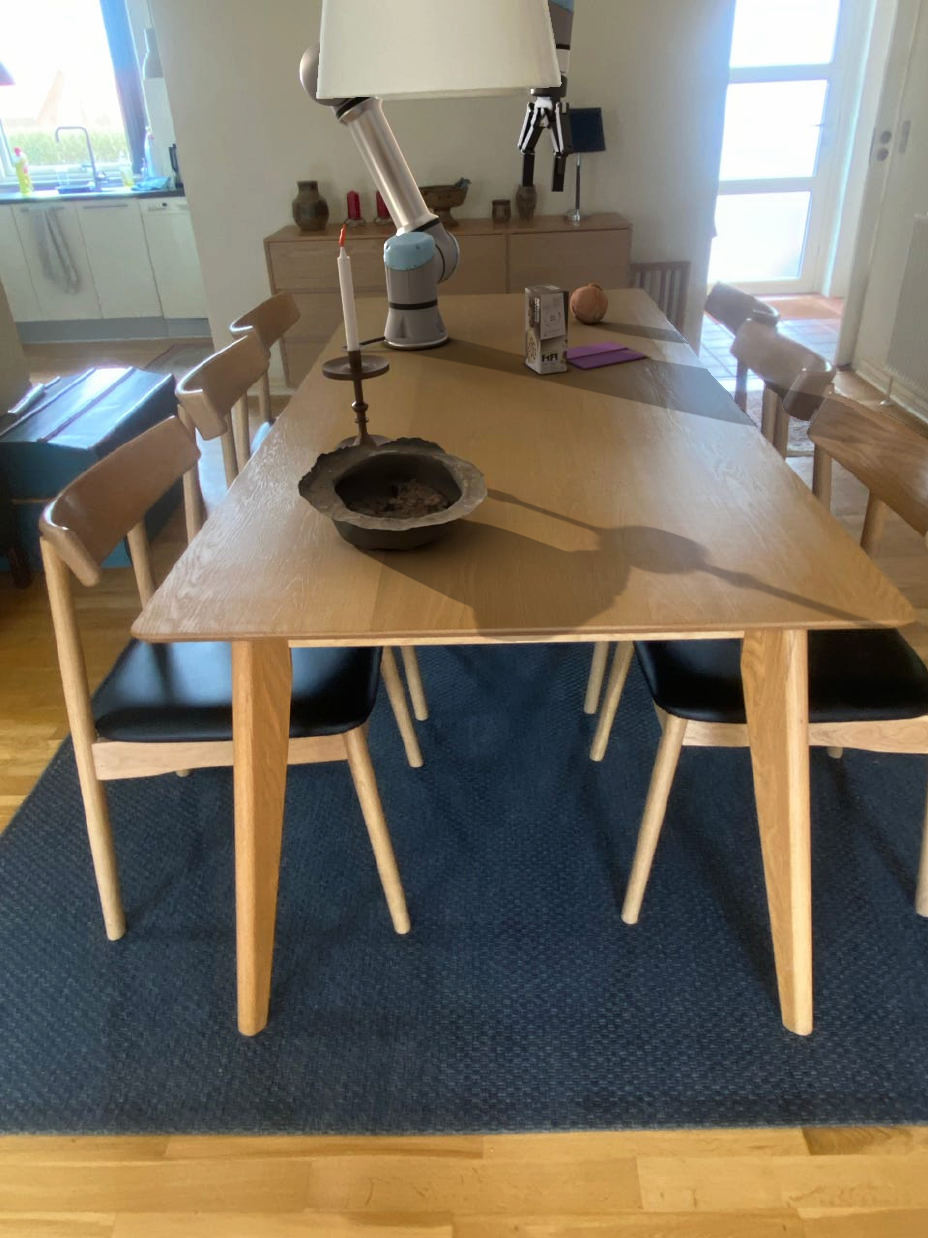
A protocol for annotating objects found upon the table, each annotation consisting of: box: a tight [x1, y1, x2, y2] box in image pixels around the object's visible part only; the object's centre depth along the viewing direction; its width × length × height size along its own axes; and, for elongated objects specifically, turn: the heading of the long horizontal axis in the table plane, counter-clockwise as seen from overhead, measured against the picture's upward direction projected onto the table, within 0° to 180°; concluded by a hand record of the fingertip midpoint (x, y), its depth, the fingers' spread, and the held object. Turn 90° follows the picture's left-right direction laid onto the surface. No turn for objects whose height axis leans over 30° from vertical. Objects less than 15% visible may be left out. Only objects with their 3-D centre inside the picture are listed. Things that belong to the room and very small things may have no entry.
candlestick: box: [321, 223, 392, 449], centre depth 131 cm, size 11×11×35 cm
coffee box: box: [524, 283, 570, 375], centre depth 172 cm, size 9×6×16 cm
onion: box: [569, 282, 609, 325], centre depth 205 cm, size 10×9×10 cm
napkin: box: [567, 340, 648, 370], centre depth 182 cm, size 16×14×1 cm
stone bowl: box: [297, 436, 488, 551], centre depth 112 cm, size 25×25×9 cm
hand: (541, 189), depth 183 cm, fingers open, 13 cm apart
